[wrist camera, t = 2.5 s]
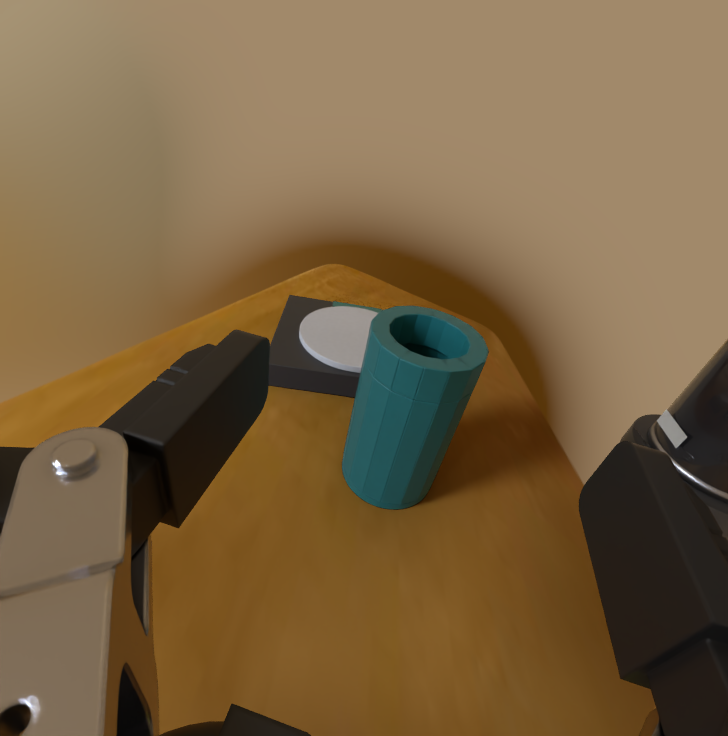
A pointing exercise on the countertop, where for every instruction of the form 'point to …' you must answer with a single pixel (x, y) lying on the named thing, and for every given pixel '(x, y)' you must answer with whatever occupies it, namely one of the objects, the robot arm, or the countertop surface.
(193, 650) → the countertop surface
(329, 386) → the scale
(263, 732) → the robot arm
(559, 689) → the countertop surface
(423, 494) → the jar
